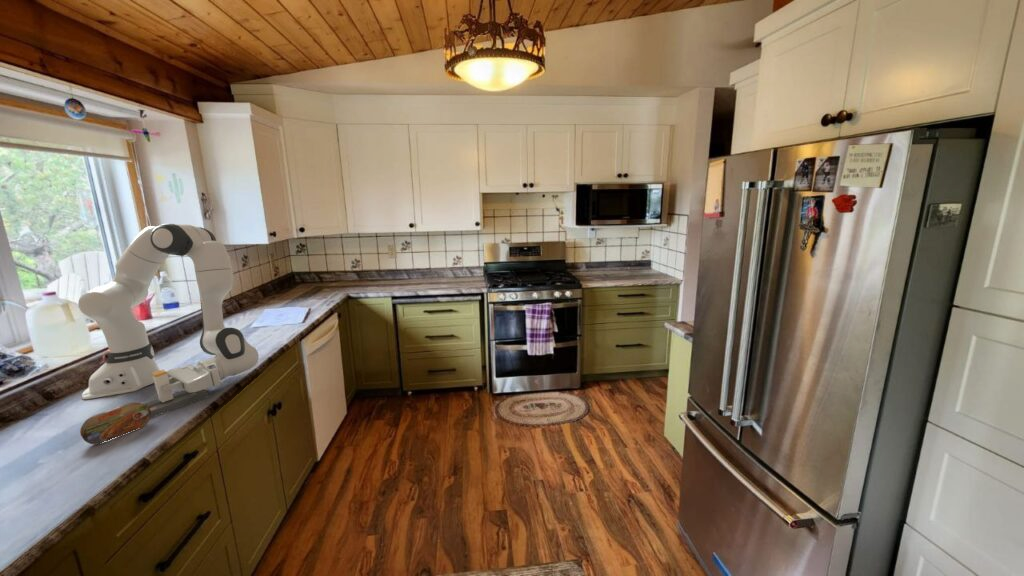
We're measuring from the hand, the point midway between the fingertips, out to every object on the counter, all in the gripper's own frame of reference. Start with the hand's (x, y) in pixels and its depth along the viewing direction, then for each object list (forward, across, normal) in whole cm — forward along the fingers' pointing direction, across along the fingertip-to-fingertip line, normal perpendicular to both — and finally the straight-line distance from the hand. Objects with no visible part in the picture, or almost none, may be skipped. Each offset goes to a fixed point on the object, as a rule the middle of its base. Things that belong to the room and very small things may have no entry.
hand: (159, 387), depth 133 cm
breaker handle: (-1, 0, +5) cm, 5 cm away
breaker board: (-2, 0, +7) cm, 7 cm away
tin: (+13, +8, +7) cm, 17 cm away
